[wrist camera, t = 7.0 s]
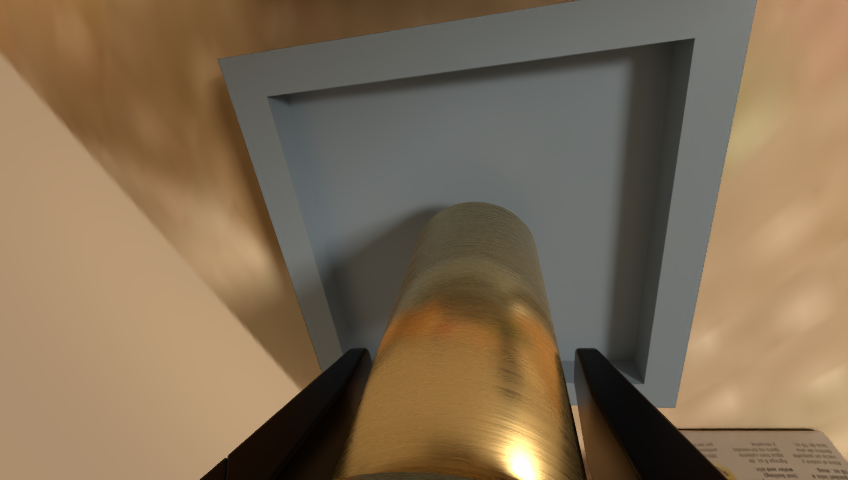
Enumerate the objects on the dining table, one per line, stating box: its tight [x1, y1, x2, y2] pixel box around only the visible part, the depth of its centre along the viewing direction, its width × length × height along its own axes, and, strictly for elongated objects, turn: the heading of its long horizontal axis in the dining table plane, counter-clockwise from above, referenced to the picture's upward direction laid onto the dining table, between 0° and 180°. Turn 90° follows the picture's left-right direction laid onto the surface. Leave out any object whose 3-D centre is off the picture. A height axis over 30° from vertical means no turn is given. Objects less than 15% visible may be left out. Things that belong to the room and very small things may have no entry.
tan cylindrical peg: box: [332, 202, 587, 480], centre depth 9 cm, size 5×5×10 cm
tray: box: [218, 0, 757, 408], centre depth 14 cm, size 14×14×2 cm
